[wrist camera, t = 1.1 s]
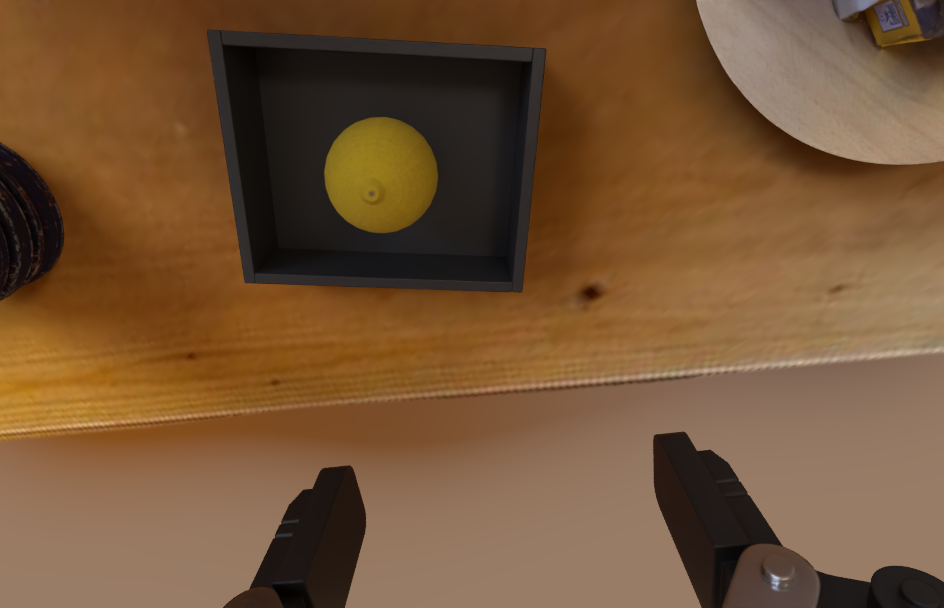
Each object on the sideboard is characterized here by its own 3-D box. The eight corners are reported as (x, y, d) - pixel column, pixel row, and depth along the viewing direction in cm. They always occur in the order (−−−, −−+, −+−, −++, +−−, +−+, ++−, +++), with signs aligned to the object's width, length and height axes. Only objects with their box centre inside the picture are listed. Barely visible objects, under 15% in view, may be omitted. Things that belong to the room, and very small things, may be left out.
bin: (271, 255, 32) (244, 283, 28) (244, 34, 27) (206, 29, 23) (514, 264, 33) (522, 292, 29) (533, 50, 27) (546, 48, 23)
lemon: (391, 227, 31) (372, 277, 24) (322, 157, 29) (278, 187, 22) (460, 166, 30) (461, 199, 22) (392, 87, 28) (369, 96, 21)
